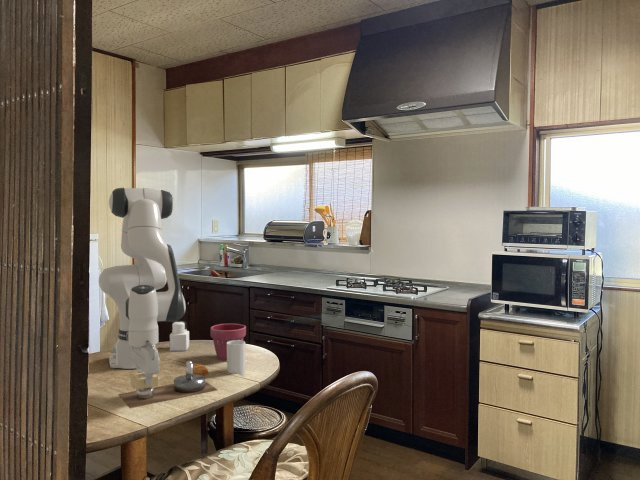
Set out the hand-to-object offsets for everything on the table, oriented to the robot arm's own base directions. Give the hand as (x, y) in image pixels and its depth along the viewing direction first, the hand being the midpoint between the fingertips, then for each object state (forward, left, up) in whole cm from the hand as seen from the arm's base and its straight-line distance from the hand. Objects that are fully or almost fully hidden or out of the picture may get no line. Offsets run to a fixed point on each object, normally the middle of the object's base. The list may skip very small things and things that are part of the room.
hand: (144, 381), depth 163 cm
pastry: (-14, +24, -7) cm, 29 cm away
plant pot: (-30, +43, -7) cm, 53 cm away
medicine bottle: (-54, +31, -7) cm, 63 cm away
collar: (0, 0, -1) cm, 1 cm away
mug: (-9, +37, -7) cm, 38 cm away
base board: (0, +8, -7) cm, 10 cm away
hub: (0, +15, -5) cm, 15 cm away
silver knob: (0, 0, -5) cm, 5 cm away
